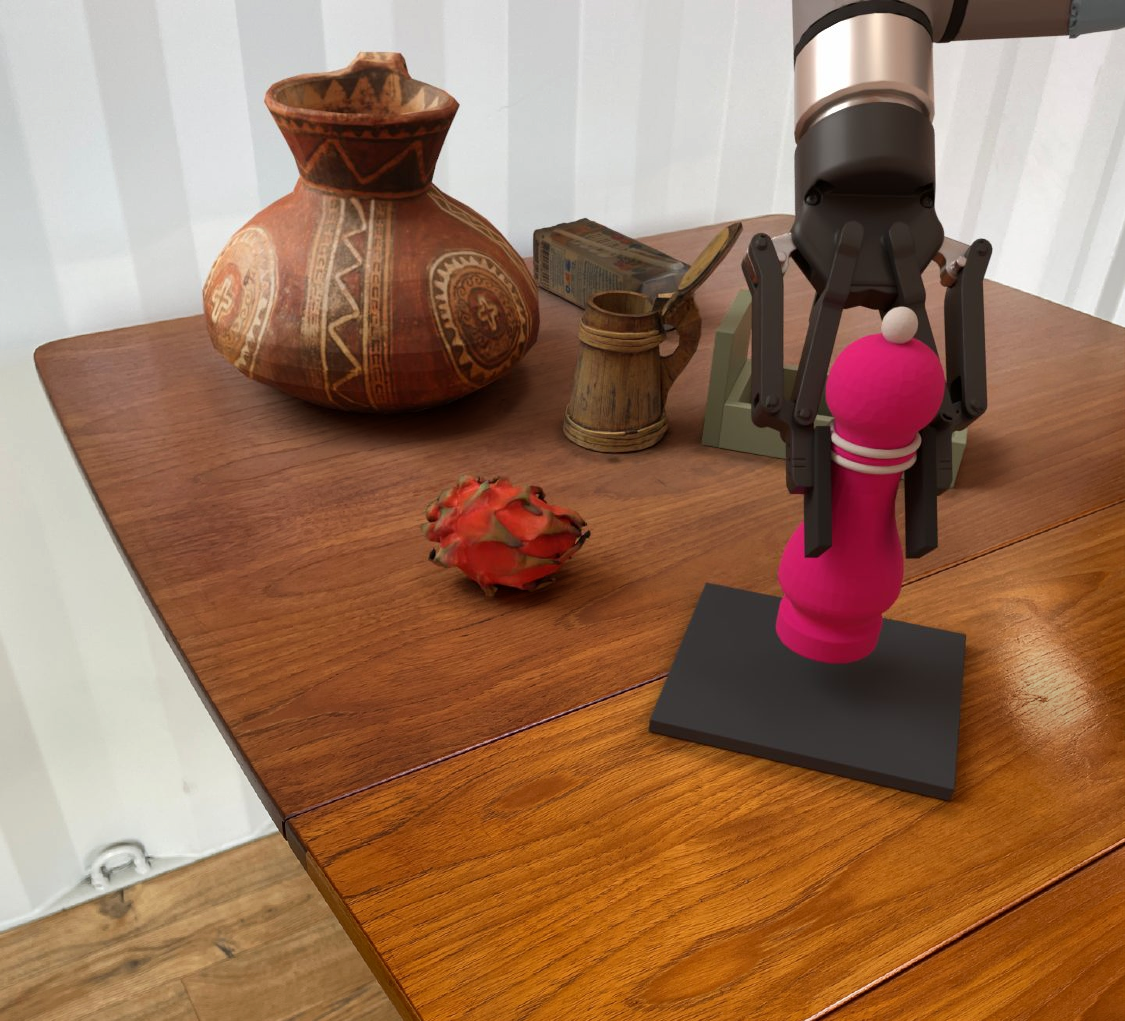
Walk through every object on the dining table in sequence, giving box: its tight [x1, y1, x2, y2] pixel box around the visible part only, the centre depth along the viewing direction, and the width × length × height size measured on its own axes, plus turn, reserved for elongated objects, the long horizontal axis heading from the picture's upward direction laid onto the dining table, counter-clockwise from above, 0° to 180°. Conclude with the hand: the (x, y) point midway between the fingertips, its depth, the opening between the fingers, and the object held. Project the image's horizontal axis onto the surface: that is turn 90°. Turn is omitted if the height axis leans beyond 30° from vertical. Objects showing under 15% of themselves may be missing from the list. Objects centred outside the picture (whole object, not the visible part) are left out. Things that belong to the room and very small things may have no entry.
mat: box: [648, 582, 967, 802], centre depth 70 cm, size 18×16×1 cm
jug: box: [201, 51, 541, 415], centre depth 95 cm, size 30×30×25 cm
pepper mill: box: [776, 307, 946, 664], centre depth 60 cm, size 7×7×20 cm
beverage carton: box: [532, 217, 696, 332], centre depth 117 cm, size 8×19×7 cm, turn 37°
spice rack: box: [701, 288, 969, 489], centre depth 93 cm, size 22×10×10 cm, turn 72°
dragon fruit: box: [419, 473, 591, 597], centre depth 76 cm, size 8×8×12 cm
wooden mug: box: [562, 221, 744, 453], centre depth 90 cm, size 9×14×18 cm, turn 82°
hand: (869, 551), depth 59 cm, fingers closed on pepper mill, 5 cm apart
